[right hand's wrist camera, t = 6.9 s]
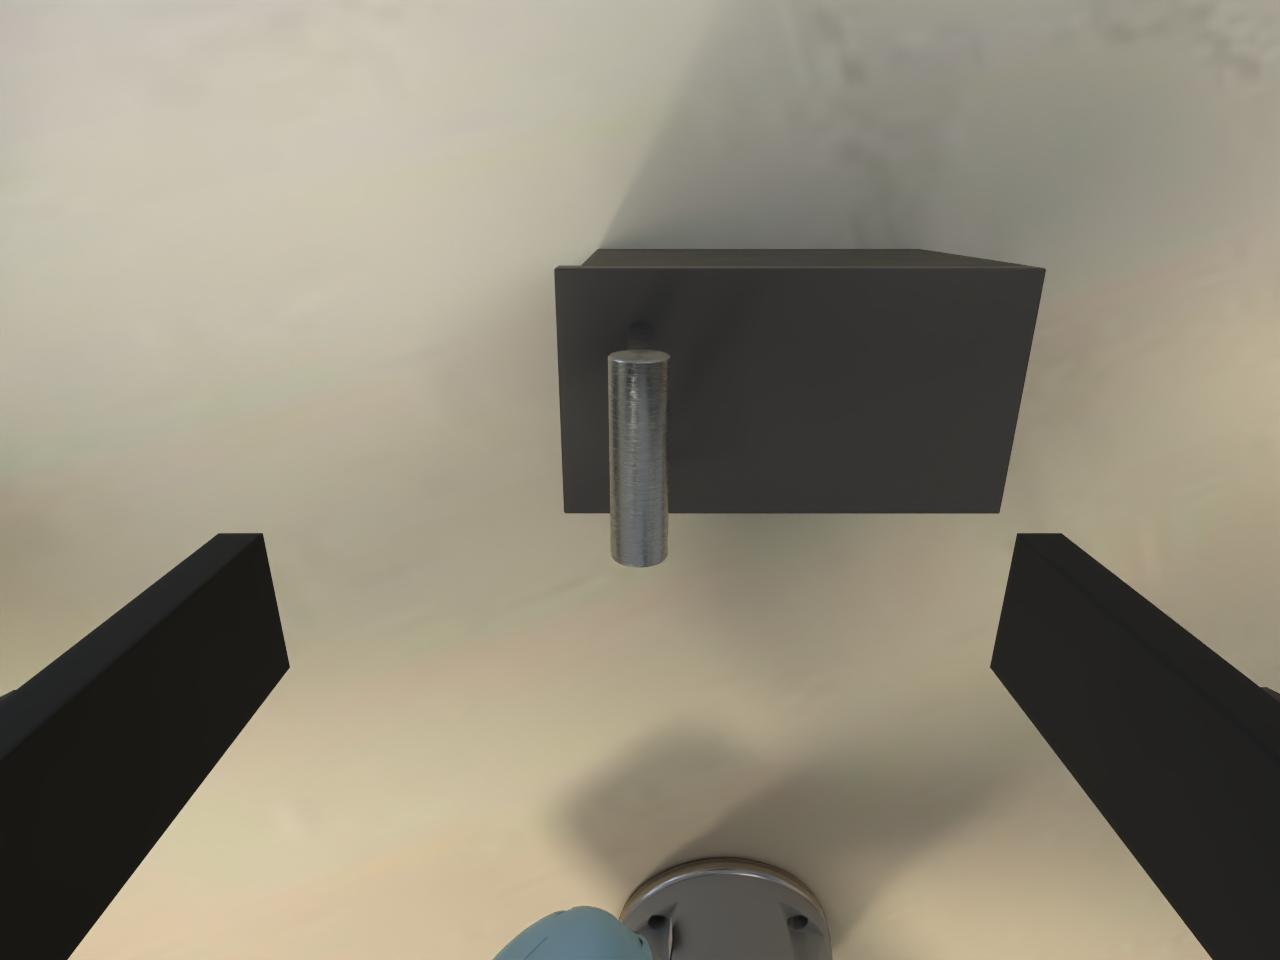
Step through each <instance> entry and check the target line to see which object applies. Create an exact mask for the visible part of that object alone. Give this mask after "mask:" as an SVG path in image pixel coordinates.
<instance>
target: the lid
mask: <svg viewBox="0 0 1280 960" xmlns="http://www.w3.org/2000/svg"><path fill="white" fill-rule="evenodd" d="M554 272H555V297H556V322H557V347H558V371H559V396H560V421H561V446H562V471H563V495H564V512H565V513H610V526H611V556H612V558H613V559H614V560H615V561H616V562H618V563H620V564H622V565H626V566H631V567H648V566H653V565H656V564H659V563H661V562H662V561H664V560H665V559H666V557H667V555H668V513H999V512H1000V507H1001V502H1002V497H1003V492H1004V486H1005V481H1006V476H1007V471H1008V465H1009V460H1010V455H1011V450H1012V445H1013V439H1014V434H1015V429H1016V424H1017V418H1018V413H1019V408H1020V403H1021V397H1022V392H1023V387H1024V382H1025V376H1026V371H1027V366H1028V361H1029V356H1030V350H1031V345H1032V340H1033V335H1034V329H1035V324H1036V319H1037V314H1038V308H1039V303H1040V298H1041V293H1042V287H1043V282H1044V277H1045V272H1046V269H1045V268H1040V267H1033V266H558V267H557V268H555V270H554Z"/></svg>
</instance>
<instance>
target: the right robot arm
mask: <svg viewBox="0 0 1280 960" xmlns="http://www.w3.org/2000/svg"><path fill="white" fill-rule="evenodd" d="M289 668H290V666H289V661H288V656H287V651H286V646H285V641H284V636H283V631H282V626H281V621H280V616H279V611H278V606H277V601H276V597H275V592H274V587H273V582H272V577H271V572H270V567H269V562H268V557H267V552H266V547H265V542H264V537H263V533H219V534H217V535H216V536H215V537H213V538H212V539H211V540H210V541H208V542H207V543H206V544H204V545H203V546H202V547H201V548H199V549H198V550H197V551H195V552H194V553H193V554H191V555H190V556H189V557H188V558H186V559H185V560H184V561H182V562H181V563H180V564H179V565H177V566H176V567H175V568H173V569H172V570H171V571H170V572H168V573H167V574H166V575H164V576H163V577H162V578H161V579H159V580H158V581H157V582H155V583H154V584H153V585H151V586H150V587H149V588H148V589H146V590H145V591H144V592H142V593H141V594H140V595H139V596H137V597H136V598H135V599H133V600H132V601H131V602H130V603H128V604H127V605H126V606H124V607H123V608H122V609H120V610H119V611H118V612H117V613H115V614H114V615H113V616H111V617H110V618H109V619H108V620H106V621H105V622H104V623H102V624H101V625H100V626H99V627H97V628H96V629H95V630H93V631H92V632H91V633H89V634H88V635H87V636H86V637H84V638H83V639H82V640H80V641H79V642H78V643H77V644H75V645H74V646H73V647H71V648H70V649H69V650H68V651H66V652H65V653H64V654H62V655H61V656H60V657H59V658H57V659H56V660H55V661H53V662H52V663H51V664H49V665H48V666H47V667H46V668H44V669H43V670H42V671H40V672H39V673H38V674H37V675H35V676H34V677H33V678H31V679H30V680H29V681H28V682H26V683H25V684H24V685H22V686H21V687H20V688H18V689H17V690H13V691H11V692H9V693H7V694H5V695H3V696H1V697H0V960H67V959H68V958H69V957H70V955H71V954H72V953H73V951H74V950H75V949H76V948H77V946H78V945H79V944H80V942H81V941H82V940H83V938H84V937H85V936H86V934H87V933H88V932H89V930H90V929H91V928H92V927H93V925H94V924H95V923H96V921H97V920H98V919H99V917H100V916H101V915H102V913H103V912H104V911H105V909H106V908H107V907H108V905H109V904H110V903H111V902H112V900H113V899H114V898H115V896H116V895H117V894H118V892H119V891H120V890H121V888H122V887H123V886H124V884H125V883H126V882H127V881H128V879H129V878H130V877H131V875H132V874H133V873H134V871H135V870H136V869H137V867H138V866H139V865H140V863H141V862H142V861H143V860H144V858H145V857H146V856H147V854H148V853H149V852H150V850H151V849H152V848H153V846H154V845H155V844H156V842H157V841H158V840H159V838H160V837H161V836H162V835H163V833H164V832H165V831H166V829H167V828H168V827H169V825H170V824H171V823H172V821H173V820H174V819H175V817H176V816H177V815H178V814H179V812H180V811H181V810H182V808H183V807H184V806H185V804H186V803H187V802H188V800H189V799H190V798H191V796H192V795H193V794H194V792H195V791H196V790H197V789H198V787H199V786H200V785H201V783H202V782H203V781H204V779H205V778H206V777H207V775H208V774H209V773H210V771H211V770H212V769H213V768H214V766H215V765H216V764H217V762H218V761H219V760H220V758H221V757H222V756H223V754H224V753H225V752H226V750H227V749H228V748H229V747H230V745H231V744H232V743H233V741H234V740H235V739H236V737H237V736H238V735H239V733H240V732H241V731H242V729H243V728H244V727H245V725H246V724H247V723H248V722H249V720H250V719H251V718H252V716H253V715H254V714H255V712H256V711H257V710H258V708H259V707H260V706H261V704H262V703H263V702H264V701H265V699H266V698H267V697H268V695H269V694H270V693H271V691H272V690H273V689H274V687H275V686H276V685H277V683H278V682H279V681H280V679H281V678H282V677H283V676H284V674H285V673H286V672H287V670H288V669H289ZM990 668H991V669H992V670H993V672H994V673H995V674H996V676H997V677H998V678H999V680H1000V681H1001V682H1002V683H1003V685H1004V686H1005V687H1006V689H1007V690H1008V691H1009V693H1010V694H1011V695H1012V697H1013V698H1014V699H1015V701H1016V702H1017V703H1018V704H1019V706H1020V707H1021V708H1022V710H1023V711H1024V712H1025V714H1026V715H1027V716H1028V718H1029V719H1030V720H1031V722H1032V723H1033V724H1034V725H1035V727H1036V728H1037V729H1038V731H1039V732H1040V733H1041V735H1042V736H1043V737H1044V739H1045V740H1046V741H1047V743H1048V744H1049V745H1050V747H1051V748H1052V749H1053V750H1054V752H1055V753H1056V754H1057V756H1058V757H1059V758H1060V760H1061V761H1062V762H1063V764H1064V765H1065V766H1066V768H1067V769H1068V770H1069V771H1070V773H1071V774H1072V775H1073V777H1074V778H1075V779H1076V781H1077V782H1078V783H1079V785H1080V786H1081V787H1082V789H1083V790H1084V791H1085V792H1086V794H1087V795H1088V796H1089V798H1090V799H1091V800H1092V802H1093V803H1094V804H1095V806H1096V807H1097V808H1098V810H1099V811H1100V812H1101V814H1102V815H1103V816H1104V817H1105V819H1106V820H1107V821H1108V823H1109V824H1110V825H1111V827H1112V828H1113V829H1114V831H1115V832H1116V833H1117V835H1118V836H1119V837H1120V838H1121V840H1122V841H1123V842H1124V844H1125V845H1126V846H1127V848H1128V849H1129V850H1130V852H1131V853H1132V854H1133V856H1134V857H1135V858H1136V860H1137V861H1138V862H1139V863H1140V865H1141V866H1142V867H1143V869H1144V870H1145V871H1146V873H1147V874H1148V875H1149V877H1150V878H1151V879H1152V881H1153V882H1154V883H1155V884H1156V886H1157V887H1158V888H1159V890H1160V891H1161V892H1162V894H1163V895H1164V896H1165V898H1166V899H1167V900H1168V902H1169V903H1170V904H1171V905H1172V907H1173V908H1174V909H1175V911H1176V912H1177V913H1178V915H1179V916H1180V917H1181V919H1182V920H1183V921H1184V923H1185V924H1186V925H1187V927H1188V928H1189V929H1190V930H1191V932H1192V933H1193V934H1194V936H1195V937H1196V938H1197V940H1198V941H1199V942H1200V944H1201V945H1202V946H1203V948H1204V949H1205V950H1206V951H1207V953H1208V954H1209V955H1210V957H1211V958H1212V959H1213V960H1280V694H1279V693H1277V692H1275V691H1273V690H1271V689H1269V688H1267V687H1259V686H1258V685H1256V684H1255V683H1254V682H1252V681H1251V680H1250V679H1249V678H1247V677H1246V676H1245V675H1243V674H1242V673H1241V672H1240V671H1238V670H1237V669H1236V668H1234V667H1233V666H1232V665H1231V664H1229V663H1228V662H1227V661H1225V660H1224V659H1223V658H1221V657H1220V656H1219V655H1218V654H1216V653H1215V652H1214V651H1212V650H1211V649H1210V648H1209V647H1207V646H1206V645H1205V644H1203V643H1202V642H1201V641H1200V640H1198V639H1197V638H1196V637H1194V636H1193V635H1192V634H1191V633H1189V632H1188V631H1187V630H1185V629H1184V628H1183V627H1181V626H1180V625H1179V624H1178V623H1176V622H1175V621H1174V620H1172V619H1171V618H1170V617H1169V616H1167V615H1166V614H1165V613H1163V612H1162V611H1161V610H1160V609H1158V608H1157V607H1156V606H1154V605H1153V604H1152V603H1150V602H1149V601H1148V600H1147V599H1145V598H1144V597H1143V596H1141V595H1140V594H1139V593H1138V592H1136V591H1135V590H1134V589H1132V588H1131V587H1130V586H1129V585H1127V584H1126V583H1125V582H1123V581H1122V580H1121V579H1119V578H1118V577H1117V576H1116V575H1114V574H1113V573H1112V572H1110V571H1109V570H1108V569H1107V568H1105V567H1104V566H1103V565H1101V564H1100V563H1099V562H1098V561H1096V560H1095V559H1094V558H1092V557H1091V556H1090V555H1089V554H1087V553H1086V552H1085V551H1083V550H1082V549H1081V548H1079V547H1078V546H1077V545H1076V544H1074V543H1073V542H1072V541H1070V540H1069V539H1068V538H1067V537H1065V536H1064V535H1063V534H1061V533H1017V537H1016V542H1015V547H1014V552H1013V557H1012V562H1011V567H1010V572H1009V577H1008V582H1007V587H1006V592H1005V597H1004V601H1003V606H1002V611H1001V616H1000V621H999V626H998V631H997V636H996V641H995V646H994V651H993V656H992V661H991V666H990Z"/></svg>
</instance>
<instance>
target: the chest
mask: <svg viewBox="0 0 1280 960" xmlns="http://www.w3.org/2000/svg"><path fill="white" fill-rule="evenodd" d="M581 266H1026V265H1020V264H1013V263H1007V262H1000V261H994V260H987V259H980V258H974V257H967V256H961V255H954V254H947V253H941V252H934V251H928V250H921V249H598V250H597V251H596V252H595V253H594V254H592V255H591V256H590V257H589V258H588V259H587V260H586V261H585V262H584V263H583V264H582V265H581Z"/></svg>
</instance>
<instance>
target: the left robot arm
mask: <svg viewBox="0 0 1280 960" xmlns="http://www.w3.org/2000/svg"><path fill="white" fill-rule="evenodd" d="M493 960H832V949H831V941H830V935H829V930H828V926H827V923H826V919H825V915H824V912H823V910H822V907H821V905H820V903H819V901H818V900H817V898H816V897H815V896H814V894H813V893H812V892H811V891H810V890H809V889H808V888H807V887H806V886H805V885H804V884H803V883H802V882H801V881H799V880H798V879H796V878H795V877H794V876H792V875H790V874H788V873H787V872H785V871H783V870H780V869H778V868H776V867H773V866H770V865H768V864H764V863H760V862H756V861H751V860H745V859H736V858H715V859H706V860H700V861H694V862H690V863H686V864H683V865H680V866H677V867H674V868H672V869H669V870H667V871H665V872H663V873H661V874H659V875H657V876H656V877H654V878H653V879H651V880H650V881H648V882H647V883H645V884H644V885H643V886H642V887H640V888H639V889H638V890H637V891H636V892H635V893H634V894H633V896H632V897H631V898H630V899H629V900H628V902H627V904H626V905H625V907H624V908H623V910H622V912H621V915H620V917H619V920H618V919H617V918H615V917H614V916H613V915H612V914H610V913H608V912H607V911H604V910H602V909H599V908H596V907H590V906H578V907H574V908H572V909H570V910H568V911H558V912H555V913H552V914H550V915H548V916H546V917H544V918H542V919H540V920H539V921H537V922H536V923H534V924H533V925H531V926H530V927H528V928H527V929H525V930H524V931H523V932H521V933H520V934H519V935H518V936H516V937H515V938H514V939H513V940H512V941H511V942H510V943H508V944H507V945H506V946H505V947H504V948H503V949H502V950H501V951H500V952H499V953H498V954H497V955H496V956H495V957H494V958H493Z"/></svg>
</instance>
